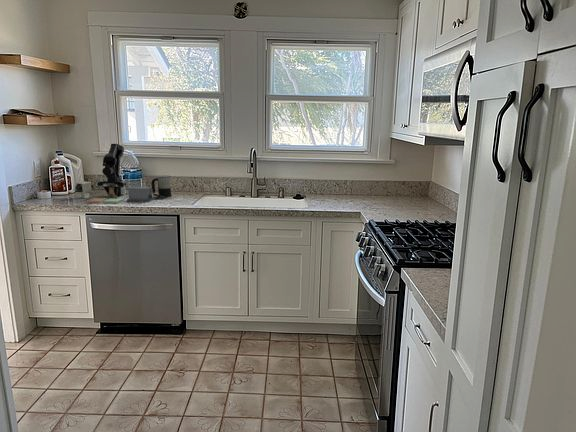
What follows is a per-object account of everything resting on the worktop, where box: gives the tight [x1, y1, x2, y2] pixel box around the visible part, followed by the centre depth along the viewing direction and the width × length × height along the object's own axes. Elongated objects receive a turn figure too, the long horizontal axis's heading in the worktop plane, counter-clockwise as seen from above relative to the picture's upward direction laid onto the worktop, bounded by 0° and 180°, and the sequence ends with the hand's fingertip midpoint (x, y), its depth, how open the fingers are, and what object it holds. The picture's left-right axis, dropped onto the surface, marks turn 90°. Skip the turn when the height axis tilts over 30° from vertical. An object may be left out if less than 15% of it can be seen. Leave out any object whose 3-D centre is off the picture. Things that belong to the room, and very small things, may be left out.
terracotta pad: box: [85, 197, 109, 204], centre depth 292 cm, size 10×10×2 cm
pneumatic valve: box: [75, 181, 94, 199], centre depth 304 cm, size 6×12×12 cm, turn 155°
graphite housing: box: [127, 186, 155, 202], centre depth 297 cm, size 8×16×9 cm, turn 84°
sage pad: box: [102, 197, 125, 205], centre depth 290 cm, size 10×10×2 cm
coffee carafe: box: [150, 174, 172, 199], centre depth 308 cm, size 14×16×15 cm
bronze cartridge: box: [108, 187, 118, 199], centre depth 302 cm, size 5×5×8 cm
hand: (112, 195), depth 302 cm, fingers closed on bronze cartridge, 5 cm apart
